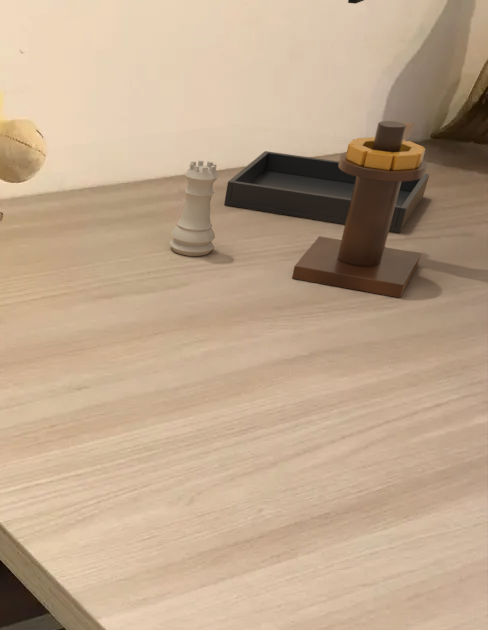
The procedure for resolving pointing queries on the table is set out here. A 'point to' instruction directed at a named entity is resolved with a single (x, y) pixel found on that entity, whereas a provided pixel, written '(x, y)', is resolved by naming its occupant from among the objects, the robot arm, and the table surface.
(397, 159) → the hanging ring
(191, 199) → the rook chess piece
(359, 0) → the robot arm
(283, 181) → the tray
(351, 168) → the peg stand
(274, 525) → the table surface
